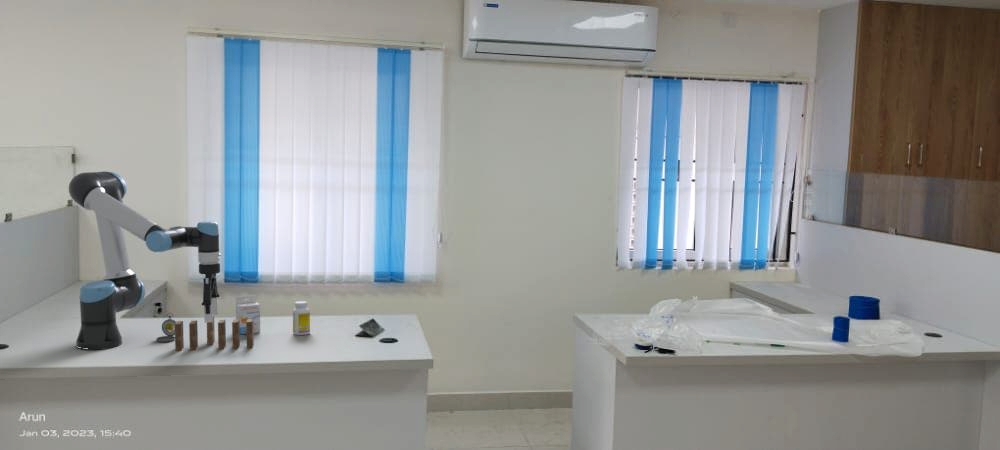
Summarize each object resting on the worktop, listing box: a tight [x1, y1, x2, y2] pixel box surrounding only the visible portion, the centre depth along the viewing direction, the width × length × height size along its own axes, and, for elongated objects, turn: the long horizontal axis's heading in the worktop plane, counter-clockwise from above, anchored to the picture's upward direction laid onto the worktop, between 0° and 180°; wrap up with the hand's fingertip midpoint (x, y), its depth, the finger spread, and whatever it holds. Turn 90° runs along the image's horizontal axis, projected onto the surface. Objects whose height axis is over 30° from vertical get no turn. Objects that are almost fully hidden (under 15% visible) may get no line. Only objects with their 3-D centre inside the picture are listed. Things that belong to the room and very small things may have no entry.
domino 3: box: [217, 319, 227, 350], centre depth 294 cm, size 2×5×10 cm, turn 12°
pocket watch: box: [155, 312, 177, 343], centre depth 304 cm, size 8×8×10 cm
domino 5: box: [245, 319, 255, 349], centre depth 296 cm, size 2×5×10 cm, turn 12°
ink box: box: [235, 294, 261, 335], centre depth 317 cm, size 8×5×15 cm, turn 123°
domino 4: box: [231, 318, 241, 350], centre depth 295 cm, size 2×5×10 cm, turn 12°
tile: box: [206, 315, 216, 346], centre depth 299 cm, size 2×5×10 cm, turn 12°
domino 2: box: [188, 320, 199, 351], centre depth 292 cm, size 2×5×10 cm, turn 12°
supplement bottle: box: [292, 300, 311, 336], centre depth 317 cm, size 7×7×13 cm
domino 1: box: [174, 320, 185, 352], centre depth 290 cm, size 2×5×10 cm, turn 12°
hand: (211, 318), depth 299 cm, fingers open, 13 cm apart
